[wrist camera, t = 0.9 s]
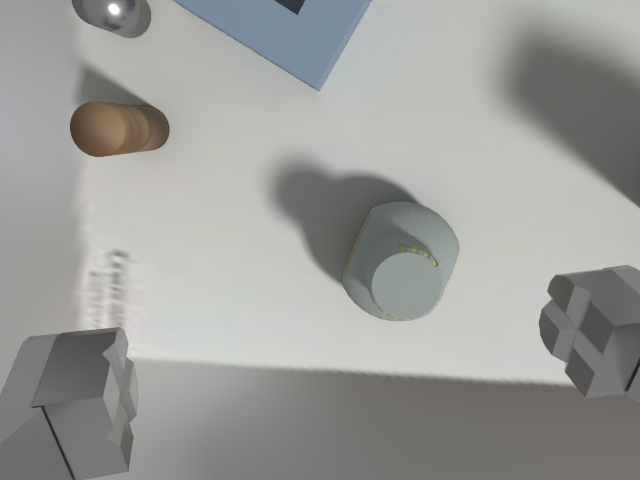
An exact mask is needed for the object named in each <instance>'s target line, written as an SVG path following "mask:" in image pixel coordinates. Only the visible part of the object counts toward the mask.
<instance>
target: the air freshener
mask: <svg viewBox="0 0 640 480" xmlns="http://www.w3.org/2000/svg"><path fill="white" fill-rule="evenodd" d="M458 253H459V243H458V240H457V237H456V235H455V234H454V232H453V230H452V228H451V227H450V226H449V225H448V223H447V222H446V221H445V220H444V219H443V218H442V217H441V216H440V215H439V214H437V213H436V212H434V211H433V210H431V209H429V208H427V207H425V206H422V205H420V204H416V203H411V202H402V201H397V202H388V203H384V204H381V205H378V206H375V207H373V208H371V210H370V212H369V213H368V215H367V217H366V219H365V221H364V223H363V226H362V228H361V230H360V232H359V234H358V237H357V239H356V241H355V244H354V246H353V248H352V251H351V253H350V256H349V258H348V261H347V263H346V266H345V268H344V271H343V274H342V277H341V282H342V284H343V287H344V289H345V290H346V292H347V294H348V296H349V297H350V298H351V299H352V300H353V302H354V303H355V304H356V305H358V306H359V307H360V308H361V309H362V310H364V311H365V312H367V313H369V314H370V315H373V316H375V317H378V318H380V319H384V320H389V321H410V320H414V319H418V318H421V317H423V316H426V315H428V314H429V313H430V312H431V311H432V310H433V309H434V308H435V307H436V306H437V305H438V303H439V301H440V300H441V297H442V295H443V291H444V289H445V287H446V285H447V283H448V281H449V278H450V276H451V274H452V271H453V269H454V266H455V263H456V260H457V257H458Z"/></svg>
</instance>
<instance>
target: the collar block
mask: <svg viewBox="0 0 640 480" xmlns="http://www.w3.org/2000/svg"><path fill="white" fill-rule="evenodd" d="M173 1H175V2H176V3H178V4H179V5H181V6H182V7H184V8H185V9H187V10H189V11H190V12H192V13H193V14H195V15H197V16H198V17H200V18H201V19H203V20H205V21H206V22H208V23H209V24H211V25H213V26H214V27H216V28H218V29H219V30H221V31H222V32H224V33H226V34H227V35H229V36H230V37H232V38H234V39H235V40H237V41H238V42H240V43H242V44H243V45H245V46H247V47H248V48H250V49H251V50H253V51H255V52H256V53H258V54H259V55H261V56H263V57H264V58H266V59H267V60H269V61H271V62H272V63H274V64H275V65H277V66H279V67H280V68H282V69H284V70H285V71H287V72H288V73H290V74H292V75H293V76H295V77H296V78H298V79H300V80H301V81H303V82H304V83H306V84H308V85H309V86H311V87H312V88H314V89H316V90H317V91H320V89H321V87H322V86H323V84H324V82H325V81H326V79H327V77H328V75H329V74H330V72H331V70H332V68H333V67H334V65H335V63H336V61H337V60H338V58H339V56H340V54H341V53H342V51H343V49H344V48H345V46H346V44H347V42H348V41H349V39H350V37H351V35H352V34H353V32H354V30H355V28H356V27H357V25H358V23H359V21H360V20H361V18H362V16H363V15H364V13H365V11H366V9H367V8H368V6H369V4H370V2H371V1H372V0H305V2H304V4H303V6H302V7H301V9H300V11H299V13H298V15H296V14H295V13H293V12H292V11H290V10H289V9H287V8H285V7H284V6H282V5H281V4H279V3H277V2H276V1H274V0H173Z"/></svg>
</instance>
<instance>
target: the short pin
mask: <svg viewBox="0 0 640 480" xmlns="http://www.w3.org/2000/svg"><path fill="white" fill-rule="evenodd" d="M72 4H73V7H74V9H75V11H76V13H77V14H78V16H79V17H80V18H81V19H82V20H83V21H85V22H86V23H88V24H91V25H93V26H96V27H99V28H101V29H104V30H107V31H109V32H112V33H115V34H117V35H120V36H123V37H126V38H136V37H139V36H140V35H142V34H143V33H144V32H145V31H146V30H147V29H148V27H149V25H150V21H151V10H150V7H149V4H148V2H147V1H146V0H72Z"/></svg>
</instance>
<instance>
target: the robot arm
mask: <svg viewBox="0 0 640 480" xmlns="http://www.w3.org/2000/svg"><path fill="white" fill-rule="evenodd" d="M547 292H548V294H549V296H550V297H551V301H550V302H549V303H548V304H547V305H546V306H545V307H544V308H543V309H542V311H541V315H540V319H539V328H540V335H541V338H542V340H543V342H544V345H545V346H546V348H547V349H548V350H549V352H550V353H551V355H553V356H555V357H556V358H558V359H560V360H562V361H564V362H566V363H565V373H566V374H567V375H568V377H569V378H570V379H571V381H572V382H573V383H574V384H575V386H576V387H577V388H578V390H579V391H580V392H581V393H582V395H583V396H584V397H585V398H592V397H598V396H607V395H614V394H621V393H627V396H628V397H630V398H632V399H633V400H635V401H636V402H638V403H639V404H640V271H639V270H637V269H636V268H634V267H631V266H628V265H624V266H617V267H610V268H603V269H599V270H591V271H583V272H575V273H567V274H559V275H555V277H554V278H553V279H552V280H551V281H550V284H549V287H548V290H547ZM127 350H128V341H127V338H126V335H125V332H124V330H123V329H122V328H121V327H117V328H107V329H97V330H87V331H77V332H67V333H61V334H51V335H42V336H32V337H29V338H27V340H25V341H24V342H23V343H22V345H21V348H20V350H19V353H18V355H17V357H16V359H15V362H14V364H13V366H12V369H11V371H10V373H9V376H8V378H7V381H6V383H5V385H4V387H3V390H2V392H1V394H0V480H85V479H91V478H96V477H101V476H107V475H112V474H117V473H123V472H128V471H129V464H130V456H131V450H132V444H133V434H132V431H131V427H130V424H129V423H130V422H131V421H132V420H133V419H134V417H135V416H136V415H137V407H138V381H137V375H136V370H135V366H134V362H132V361H131V360H129V359H128V358H127V357H126V355H127Z"/></svg>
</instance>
